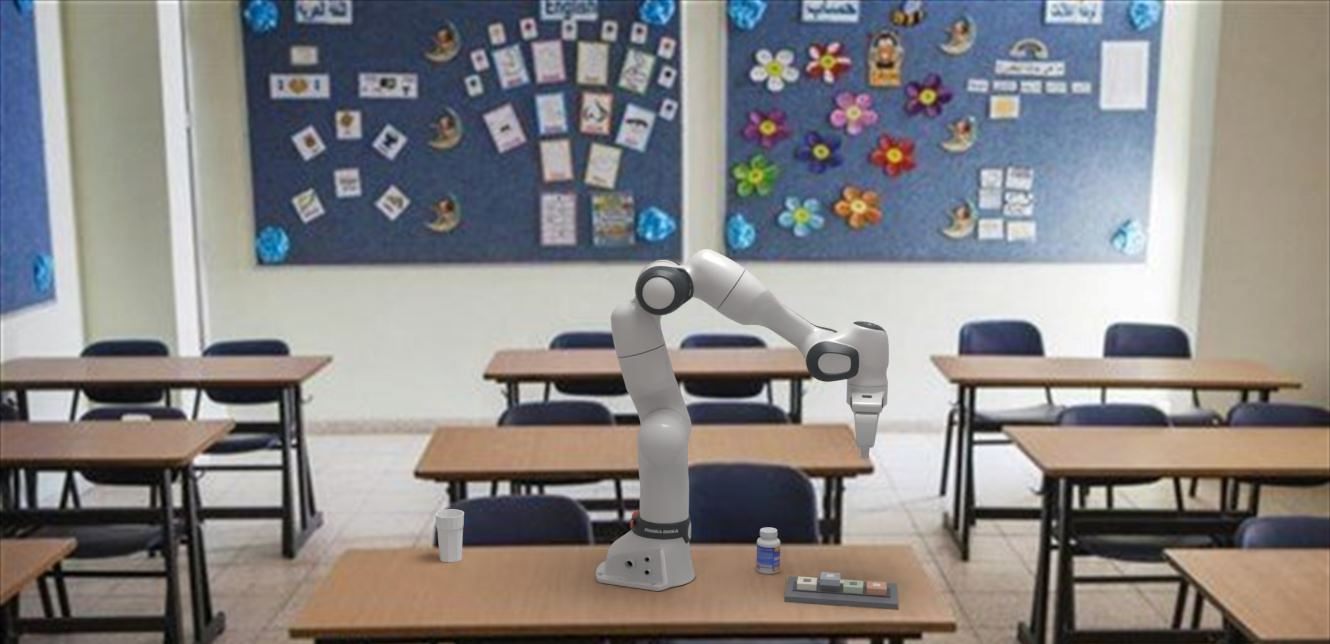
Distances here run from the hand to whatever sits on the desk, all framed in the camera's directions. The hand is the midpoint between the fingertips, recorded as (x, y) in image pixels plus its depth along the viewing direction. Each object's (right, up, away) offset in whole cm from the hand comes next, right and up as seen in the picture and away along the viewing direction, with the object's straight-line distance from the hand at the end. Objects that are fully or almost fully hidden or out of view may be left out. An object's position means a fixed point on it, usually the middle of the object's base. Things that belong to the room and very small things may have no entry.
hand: (864, 457), depth 275 cm
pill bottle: (-20, -28, +12) cm, 36 cm away
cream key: (-13, -28, -1) cm, 31 cm away
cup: (-94, -26, +18) cm, 99 cm away
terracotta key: (+2, -29, -4) cm, 29 cm away
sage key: (-3, -29, -3) cm, 29 cm away
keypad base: (-5, -30, -2) cm, 30 cm away
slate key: (-8, -27, -2) cm, 28 cm away
